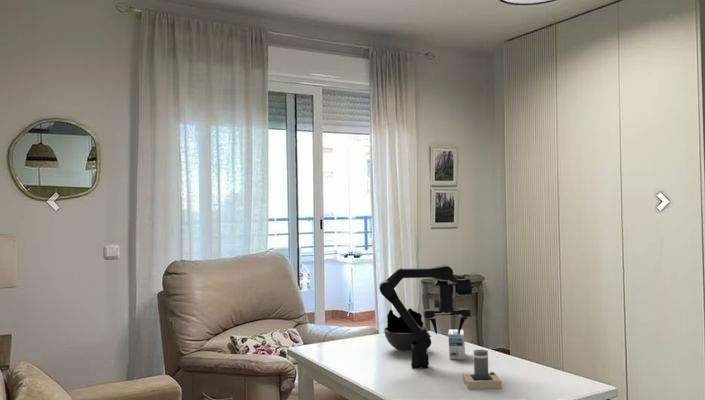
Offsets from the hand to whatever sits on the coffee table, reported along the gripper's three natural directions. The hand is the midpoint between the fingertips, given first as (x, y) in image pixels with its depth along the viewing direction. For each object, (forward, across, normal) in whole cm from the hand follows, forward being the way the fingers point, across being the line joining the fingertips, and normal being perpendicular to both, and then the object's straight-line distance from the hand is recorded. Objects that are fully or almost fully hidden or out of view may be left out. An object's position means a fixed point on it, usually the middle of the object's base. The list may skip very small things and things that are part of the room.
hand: (447, 333), depth 229 cm
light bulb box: (+13, -6, -14) cm, 20 cm away
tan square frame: (+13, -8, +26) cm, 30 cm away
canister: (+13, -8, +25) cm, 30 cm away
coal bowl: (+13, +15, -26) cm, 33 cm away
